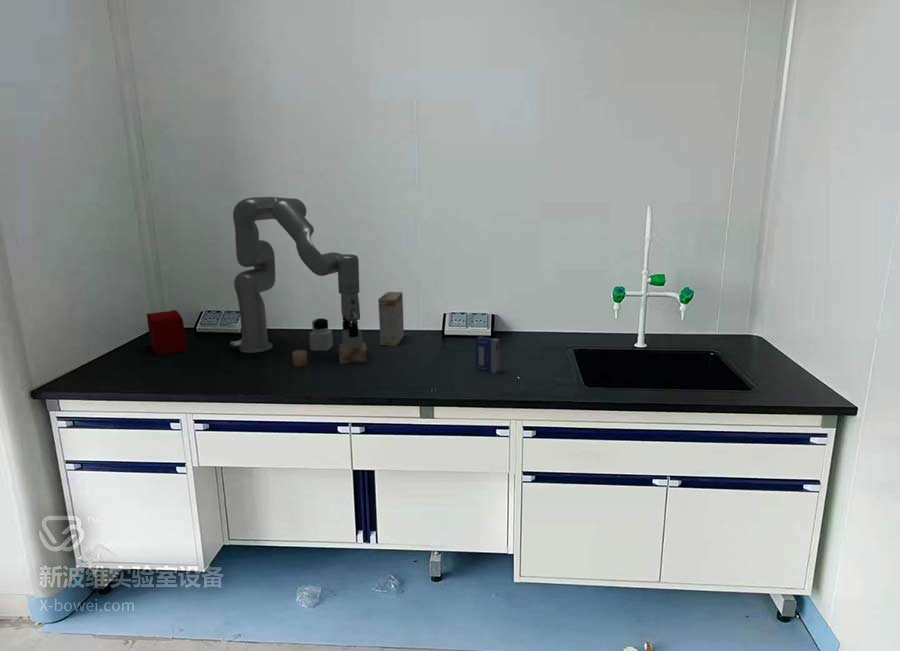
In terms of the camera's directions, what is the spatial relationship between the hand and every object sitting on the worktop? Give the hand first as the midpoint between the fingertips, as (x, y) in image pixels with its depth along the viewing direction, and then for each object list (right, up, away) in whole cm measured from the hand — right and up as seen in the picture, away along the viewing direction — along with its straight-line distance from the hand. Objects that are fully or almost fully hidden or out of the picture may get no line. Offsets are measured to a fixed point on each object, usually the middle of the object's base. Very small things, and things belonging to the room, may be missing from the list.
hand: (350, 333), depth 214 cm
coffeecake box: (+13, -4, +25) cm, 29 cm away
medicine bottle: (-14, -6, +15) cm, 22 cm away
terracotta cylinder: (-17, -11, -5) cm, 21 cm away
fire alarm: (-76, -7, +17) cm, 78 cm away
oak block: (+1, -10, +2) cm, 10 cm away
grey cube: (+1, -5, +1) cm, 5 cm away
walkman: (+50, -13, -13) cm, 54 cm away
